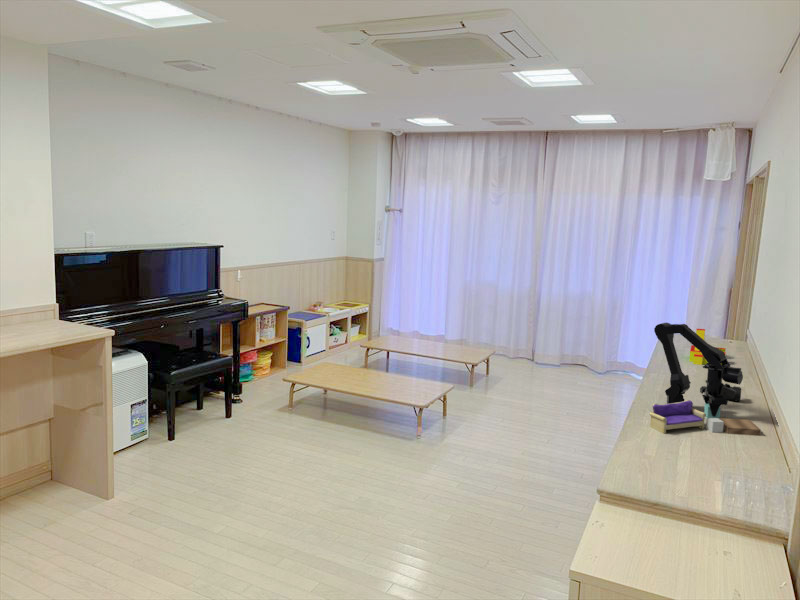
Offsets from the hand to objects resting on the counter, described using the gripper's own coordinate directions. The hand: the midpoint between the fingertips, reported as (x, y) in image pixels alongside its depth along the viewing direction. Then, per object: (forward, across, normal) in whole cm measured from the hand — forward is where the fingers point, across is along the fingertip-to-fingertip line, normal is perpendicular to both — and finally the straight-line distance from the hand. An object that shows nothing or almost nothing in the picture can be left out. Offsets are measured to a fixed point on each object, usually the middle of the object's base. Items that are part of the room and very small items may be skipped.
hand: (711, 414), depth 265 cm
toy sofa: (+2, -18, +18) cm, 26 cm away
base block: (+2, -15, -6) cm, 16 cm away
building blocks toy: (+2, +110, -28) cm, 114 cm away
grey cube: (+1, -18, +4) cm, 18 cm away
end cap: (+1, +28, -15) cm, 32 cm away
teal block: (+1, 0, 0) cm, 1 cm away
